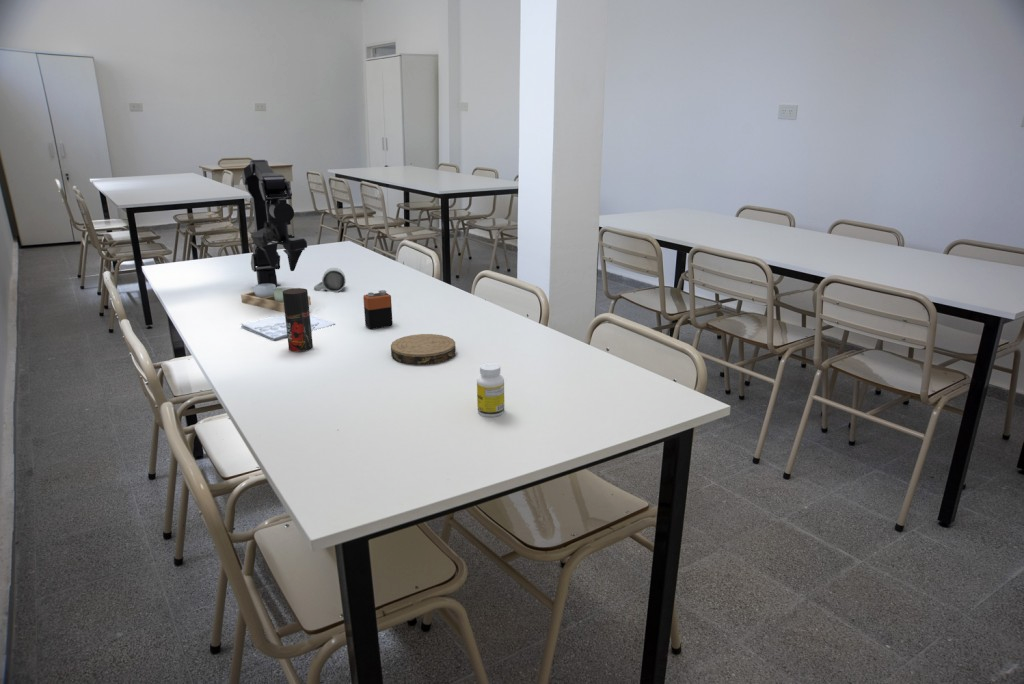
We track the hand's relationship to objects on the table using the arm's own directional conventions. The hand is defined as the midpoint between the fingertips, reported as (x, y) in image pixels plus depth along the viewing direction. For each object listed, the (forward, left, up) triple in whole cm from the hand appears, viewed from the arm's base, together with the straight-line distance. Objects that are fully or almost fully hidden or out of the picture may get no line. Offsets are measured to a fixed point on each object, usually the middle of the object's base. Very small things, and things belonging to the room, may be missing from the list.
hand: (282, 268), depth 205 cm
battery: (+40, 0, -12) cm, 42 cm away
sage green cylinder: (+2, -1, -11) cm, 11 cm away
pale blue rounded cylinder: (-8, -2, -11) cm, 14 cm away
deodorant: (+37, -25, -12) cm, 46 cm away
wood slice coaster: (+66, -11, -12) cm, 68 cm away
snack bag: (+19, -14, -12) cm, 27 cm away
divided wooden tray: (-3, -2, -12) cm, 12 cm away
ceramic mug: (-3, +21, -12) cm, 25 cm away
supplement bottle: (+100, -30, -12) cm, 105 cm away
